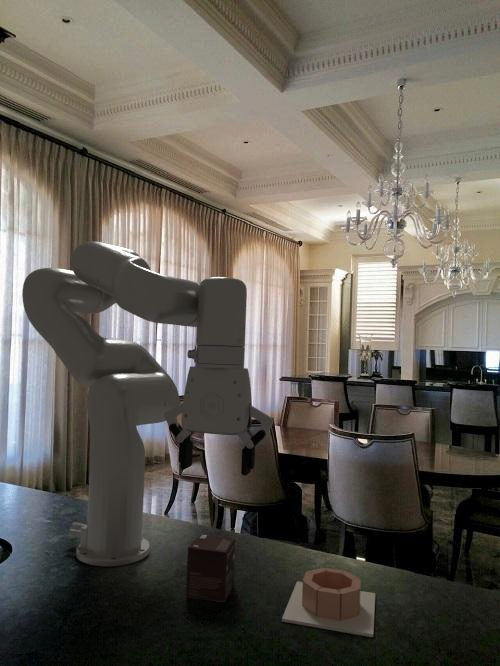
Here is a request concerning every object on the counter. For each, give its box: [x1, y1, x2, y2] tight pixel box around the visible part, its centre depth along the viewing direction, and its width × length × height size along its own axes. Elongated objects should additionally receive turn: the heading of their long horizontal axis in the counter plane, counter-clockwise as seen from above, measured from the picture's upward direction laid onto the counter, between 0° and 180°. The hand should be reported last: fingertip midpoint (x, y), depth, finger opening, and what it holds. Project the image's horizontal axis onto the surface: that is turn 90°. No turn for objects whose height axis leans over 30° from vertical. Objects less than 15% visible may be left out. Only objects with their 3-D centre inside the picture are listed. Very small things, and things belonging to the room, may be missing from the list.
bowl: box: [302, 567, 362, 621], centre depth 73 cm, size 8×8×4 cm
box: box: [185, 534, 236, 603], centre depth 76 cm, size 6×6×7 cm
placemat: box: [281, 580, 376, 638], centre depth 72 cm, size 12×12×1 cm
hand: (215, 470), depth 77 cm, fingers open, 9 cm apart
